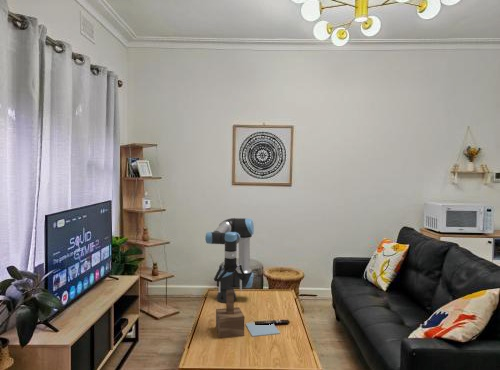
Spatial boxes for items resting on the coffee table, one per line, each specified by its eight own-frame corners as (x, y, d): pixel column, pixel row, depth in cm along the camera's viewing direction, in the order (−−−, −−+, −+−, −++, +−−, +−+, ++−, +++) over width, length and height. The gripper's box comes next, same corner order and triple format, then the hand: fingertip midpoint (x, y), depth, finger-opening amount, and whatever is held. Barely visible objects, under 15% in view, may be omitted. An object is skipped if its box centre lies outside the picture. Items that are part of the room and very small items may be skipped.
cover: (215, 327, 230) (216, 287, 229) (238, 325, 234) (239, 286, 233) (219, 338, 215) (220, 295, 214) (244, 335, 219) (244, 294, 218)
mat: (245, 324, 235) (245, 323, 235) (271, 321, 240) (271, 320, 240) (252, 336, 218) (252, 335, 218) (280, 333, 222) (280, 332, 222)
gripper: (211, 259, 216) (211, 294, 216) (251, 257, 222) (250, 291, 223) (209, 256, 223) (209, 290, 224) (248, 255, 229) (248, 287, 230)
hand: (230, 291), depth 223 cm, fingers open, 13 cm apart
